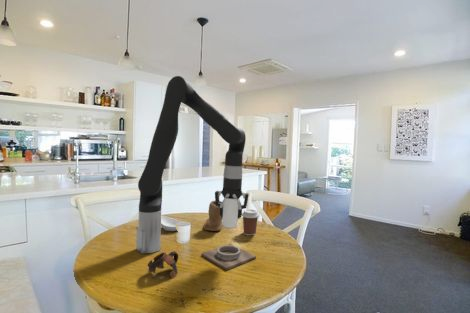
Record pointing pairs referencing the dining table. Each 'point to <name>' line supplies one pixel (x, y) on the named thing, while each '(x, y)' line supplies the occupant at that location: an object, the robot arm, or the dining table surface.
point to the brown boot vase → (213, 218)
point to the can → (230, 213)
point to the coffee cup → (250, 221)
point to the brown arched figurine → (160, 260)
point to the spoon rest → (169, 223)
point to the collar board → (231, 262)
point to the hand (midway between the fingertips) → (230, 217)
